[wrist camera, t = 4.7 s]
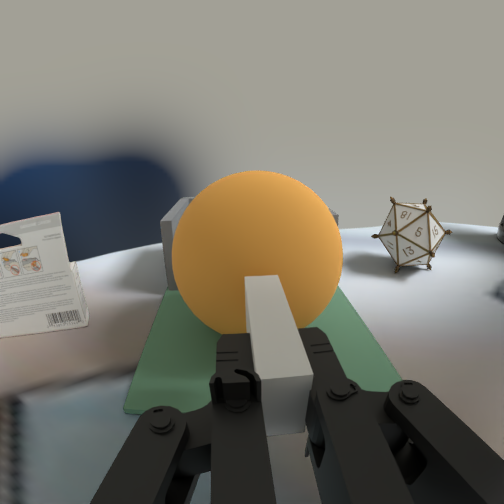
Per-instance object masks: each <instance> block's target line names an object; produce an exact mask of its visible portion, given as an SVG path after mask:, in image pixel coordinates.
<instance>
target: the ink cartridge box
mask: <svg viewBox="0 0 504 504" xmlns="http://www.w3.org/2000/svg"><path fill="white" fill-rule="evenodd" d="M1 233H6V234H10V235H13V236H17V237H19V238H20V239H21V244H20V245H16V246H11V247H7V248H2V249H0V338H5V337H14V336H22V335H31V334H38V333H46V332H54V331H61V330H68V329H74V328H81V327H86V326H87V325H88V320H89V312H88V308H87V304H86V301H85V297H84V293H83V289H82V285H81V281H80V276H79V272H78V267H77V263H76V262H70V263H69V260H68V255H67V249H66V244H65V239H64V234H63V229H62V224H61V217H60V213H59V212H57V213H53V214H47V215H42V216H38V217H33V218H29V219H24V220H19V221H14V222H10V223H6V224H2V225H0V234H1Z"/></svg>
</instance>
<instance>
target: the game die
mask: <svg viewBox="0 0 504 504" xmlns="http://www.w3.org/2000/svg"><path fill="white" fill-rule="evenodd" d="M390 198H391V200H390V201H391V202H392V203H393V206H392V208H391V210H390V213H389V215H388V217H387V219H386V221H385V223H384V225H383V227H382V229H381V231H380V233H379V235H377V234H374V235H372V236H371V237H373V238H374V239H375V238H376V239H377V238H379V239H380V240H381V242H382V243H383V245H384V246H385V248H386V249H387V251H388V252H389V254H390V255H391V257H392V258H393V260H394V261H395V263H396V264H397V266H396V267H395V269H394V270H395V273H396V272H398V271H399V267H400V266H414V265H427V269H430V270H431V265H430V264H429V262H430V261H431V259H432V258H433V257H435V252H436V250H437V248H438V247H439V245H440V243H441V241H442V239H443V237H444V235H445V234H447V235H448V234H449V235H450V234H451V233H452V232H451V231H450V230H447V231H445V230H444V229H443V227H442V226H441V225H440V223H439V222H438V221H437V219H436V218H435V217H434V215H433V214H432V213H431V210H432V208H431V206H428V207H427V206H426V205H425V204H426V203H427V199H424V200H423V204H417V203H396V202H395V200H394V198H392V197H390Z"/></svg>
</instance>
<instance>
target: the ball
mask: <svg viewBox="0 0 504 504" xmlns="http://www.w3.org/2000/svg"><path fill="white" fill-rule="evenodd" d="M342 265H343V249H342V241H341V236H340V233H339V229H338V226H337V224H336V222H335V220H334V217H333V216H332V214H331V212H330V211H329V209H328V207H327V206H326V205H325V203H324V202H323V201H322V200H321V199H320V198H319V196H318V195H316V194H315V193H314V192H313V191H312V190H311V189H309V188H308V187H306V186H305V185H304V184H302V183H301V182H299V181H297V180H295V179H293V178H291V177H288V176H285V175H282V174H279V173H274V172H269V171H245V172H240V173H235V174H232V175H229V176H227V177H224V178H221V179H220V180H218V181H216V182H214V183H212V184H211V185H209V186H208V187H206V188H205V189H204V190H203V191H201V192H200V193H199V194H198V195H197V196H196V197H195V198H194V199H193V200H192V202H191V203H190V204H189V205H188V207H187V208H186V210H185V211H184V213H183V215H182V217H181V218H180V221H179V223H178V226H177V228H176V231H175V235H174V239H173V244H172V269H173V274H174V279H175V281H176V284H177V287H178V290H179V292H180V294H181V296H182V298H183V300H184V302H185V303H186V304H187V306H188V307H189V308H190V310H191V311H192V312H193V314H194V315H195V316H196V317H198V318H199V319H200V320H201V321H202V322H203V323H204V324H205V325H207V326H208V327H210V328H211V329H213V330H215V331H216V332H218V333H220V334H222V335H223V334H238V333H247V330H246V307H245V277H246V276H266V275H278V277H279V280H280V282H281V285H282V288H283V290H284V293H285V296H286V299H287V301H288V304H289V307H290V310H291V312H292V315H293V318H294V321H295V324H296V326H297V329H299V328H305V327H306V326H308V325H309V324H310V323H312V322H313V321H314V320H315V319H316V318H317V317H318V316H319V315H320V314H321V313H322V312H323V311H324V309H325V308H326V306H327V305H328V304H329V302H330V301H331V299H332V297H333V295H334V293H335V291H336V289H337V286H338V283H339V280H340V276H341V271H342Z"/></svg>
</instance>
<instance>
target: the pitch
mask: <svg viewBox="0 0 504 504" xmlns="http://www.w3.org/2000/svg"><path fill="white" fill-rule="evenodd" d="M194 198H195V197H187V198H181V199H180V200H179V201H178V202H177V203H176V204H175V205H174V207H173V208H172V209H171V210H170V211H169V212H168V213H167V214H166V215H165V216H164V218H163V219H162V220H161V221H160V225H161V235H162V243H163V252H164V260H165V268H166V275H167V282H168V287H167V290H166V292H165V295H164V297H163V300H162V302H161V305H160V307H159V310H158V312H157V315H156V318H155V320H154V323H153V325H152V328H151V331H150V333H149V336H148V339H147V341H146V344H145V347H144V349H143V352H142V355H141V358H140V360H139V363H138V366H137V369H136V372H135V374H134V377H133V380H132V383H131V386H130V389H129V392H128V395H127V398H126V401H125V404H124V407H123V409H124V412H125V413H130V414H141V415H142V414H143V413H144V412H145V411H146V410H148V409H150V408H152V407H156V406H171V407H174V408H176V409H178V410H179V411H181V412H182V413H186V412H190V411H194V410H197V409H200V408H202V407H204V406H205V405H207V404H208V403H209V402H210V401H211V394H210V387H209V382H210V379H211V376H213V375H214V374H215V373H216V349H217V342H218V340H219V339H220V337H221V336H222V334H220V333H218V332H216V331H215V330H213V329H211V328H210V327H208V326H207V325H205V324H204V323H203V322H202V321H201V320H200V319H199V318H198V317H196V316H195V315H194V314H193V312H192V311H191V310H190V308H189V307H188V306H187V304H186V303H185V302H184V300H183V298H182V296H181V294H180V292H179V290H178V287H177V284H176V281H175V279H174V274H173V269H172V244H173V239H174V235H175V231H176V228H177V226H178V223H179V221H180V218H181V217H182V215H183V213H184V211H185V210H186V208H187V207H188V205H189V204H190V203H191V202H192V200H193V199H194ZM328 209H329V208H328ZM329 211H330V212H331V214H332V216H333V217H334V220H335V222H336V224H337V226H338V214H336V213H335V212H333V211H332V210H330V209H329ZM310 327H318V328H319V329H321V330H322V331H323V332H324V333H326V335H327V337H328V339H329V341H330V344H331V345H332V347H333V349H334V352H335V353H336V356H337V358H338V360H339V362H340V364H341V366H342V368H343V370H344V372H345V375H346V377H347V378H348V379H351V380H353V381H354V382H356V383H357V384H358V385H359V386H360V388H361V389H363V390H366V391H376V392H389V390H390V388H391V386H392V385H393V384H395V383H396V382H399V381H402V379H401V377H400V376H399V374H398V373H397V371H396V370H395V368H394V367H393V365H392V364H391V362H390V360H389V359H388V357H387V356H386V354H385V353H384V351H383V350H382V348H381V347H380V345H379V344H378V343H377V341H376V340H375V338H374V337H373V335H372V334H371V332H370V331H369V329H368V328H367V326H366V325H365V323H364V322H363V321H362V319H361V318H360V316H359V315H358V313H357V312H356V310H355V309H354V308H353V306H352V305H351V303H350V302H349V301H348V299H347V298H346V296H345V295H344V293H343V292H342V291H341V289H340V288H339V286H337V289H336V291H335V293H334V295H333V297H332V299H331V301H330V302H329V304H328V305H327V306H326V308H325V309H324V311H323V312H322V313H321V314H320V315H319V316H318V317H317V318H316V319H315V320H314V321H313V322H312V323H310V324H309V325H308V326H306V327H305V328H310Z"/></svg>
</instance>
